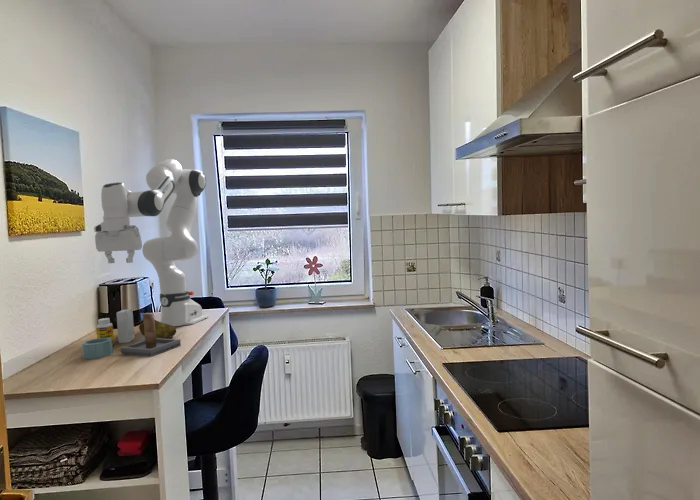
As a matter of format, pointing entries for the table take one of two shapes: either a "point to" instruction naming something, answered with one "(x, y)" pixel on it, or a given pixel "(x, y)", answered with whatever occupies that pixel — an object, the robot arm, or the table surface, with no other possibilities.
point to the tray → (141, 348)
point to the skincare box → (125, 326)
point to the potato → (161, 330)
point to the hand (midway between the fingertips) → (120, 263)
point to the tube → (97, 348)
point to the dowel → (149, 330)
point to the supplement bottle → (105, 329)
